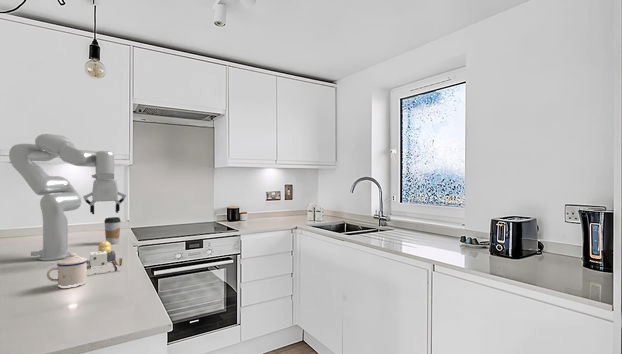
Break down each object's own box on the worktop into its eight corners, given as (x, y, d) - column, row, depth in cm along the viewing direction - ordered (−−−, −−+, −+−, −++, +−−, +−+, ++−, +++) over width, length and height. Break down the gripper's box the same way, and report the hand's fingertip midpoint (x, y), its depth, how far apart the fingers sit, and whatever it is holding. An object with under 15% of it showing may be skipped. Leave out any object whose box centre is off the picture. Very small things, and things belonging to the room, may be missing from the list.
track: (75, 277, 130) (75, 270, 130) (74, 266, 146) (74, 260, 146) (125, 270, 141) (125, 263, 141) (119, 260, 156) (119, 254, 156)
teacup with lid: (86, 279, 128) (86, 249, 128) (88, 285, 121) (88, 254, 121) (46, 285, 121) (46, 254, 121) (46, 292, 114) (46, 259, 114)
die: (90, 269, 143) (90, 255, 143) (90, 265, 148) (90, 252, 148) (107, 266, 146) (107, 253, 146) (105, 263, 151) (105, 250, 151)
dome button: (98, 256, 153) (98, 242, 152) (98, 254, 157) (98, 240, 157) (111, 255, 156) (111, 241, 155) (110, 252, 160) (110, 239, 159)
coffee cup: (115, 245, 190) (115, 219, 190) (100, 244, 190) (100, 219, 190) (123, 242, 198) (123, 217, 198) (110, 241, 198) (110, 217, 198)
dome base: (95, 263, 150) (95, 256, 150) (94, 260, 157) (94, 252, 157) (115, 261, 155) (115, 254, 155) (113, 257, 162) (113, 250, 162)
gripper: (83, 177, 148) (83, 215, 148) (126, 177, 158) (127, 212, 158) (82, 177, 154) (82, 213, 154) (124, 177, 164) (124, 211, 164)
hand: (105, 213), depth 156 cm, fingers open, 9 cm apart
